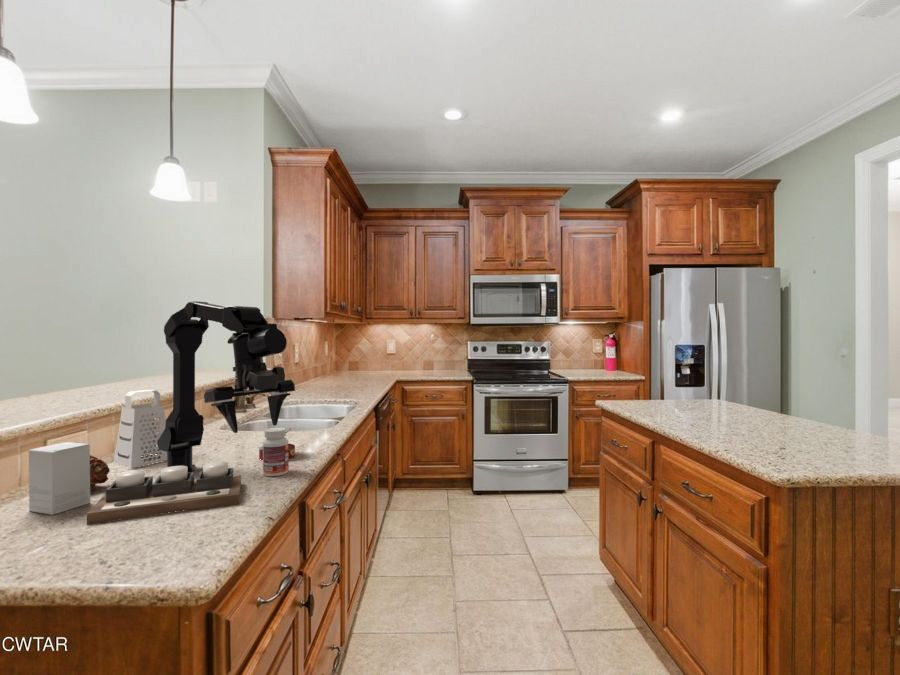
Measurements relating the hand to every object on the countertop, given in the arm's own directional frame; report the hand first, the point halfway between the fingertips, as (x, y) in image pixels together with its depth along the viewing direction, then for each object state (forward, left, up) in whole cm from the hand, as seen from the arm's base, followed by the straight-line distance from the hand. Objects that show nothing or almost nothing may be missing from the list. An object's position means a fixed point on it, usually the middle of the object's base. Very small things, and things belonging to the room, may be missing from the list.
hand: (256, 428), depth 103 cm
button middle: (-3, -16, -10) cm, 20 cm away
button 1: (-3, -24, -10) cm, 27 cm away
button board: (-1, -16, -14) cm, 22 cm away
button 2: (-3, -8, -10) cm, 13 cm away
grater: (-41, -29, -15) cm, 52 cm away
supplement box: (-7, -37, -15) cm, 41 cm away
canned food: (-31, +6, -15) cm, 35 cm away
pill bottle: (-14, +5, -15) cm, 21 cm away
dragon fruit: (-18, -37, -15) cm, 44 cm away
